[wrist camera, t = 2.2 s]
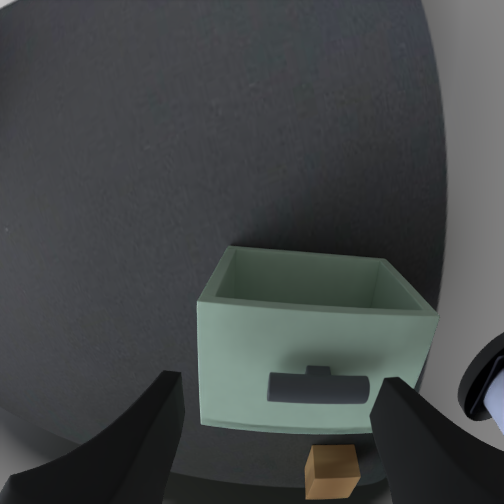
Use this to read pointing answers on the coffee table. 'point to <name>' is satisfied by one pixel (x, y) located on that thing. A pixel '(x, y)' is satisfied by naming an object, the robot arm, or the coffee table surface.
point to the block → (331, 471)
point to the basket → (305, 340)
